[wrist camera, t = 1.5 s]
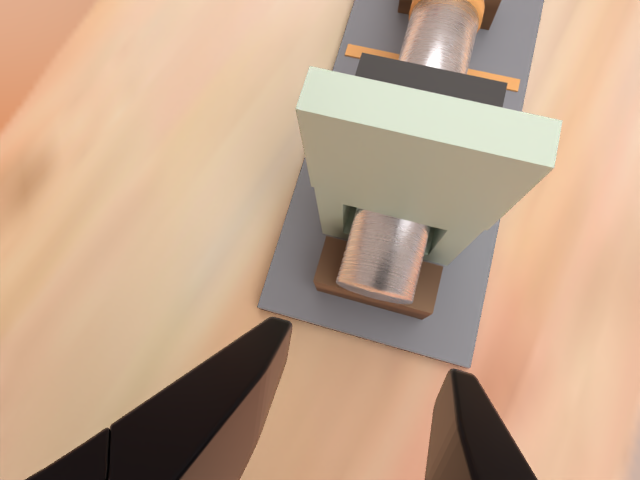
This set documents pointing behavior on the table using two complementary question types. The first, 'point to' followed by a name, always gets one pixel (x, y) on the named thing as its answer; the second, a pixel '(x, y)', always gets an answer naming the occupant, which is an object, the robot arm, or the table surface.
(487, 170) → the pale green stepped block
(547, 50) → the table surface
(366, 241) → the pipe rig
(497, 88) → the dark grey rectangular block
